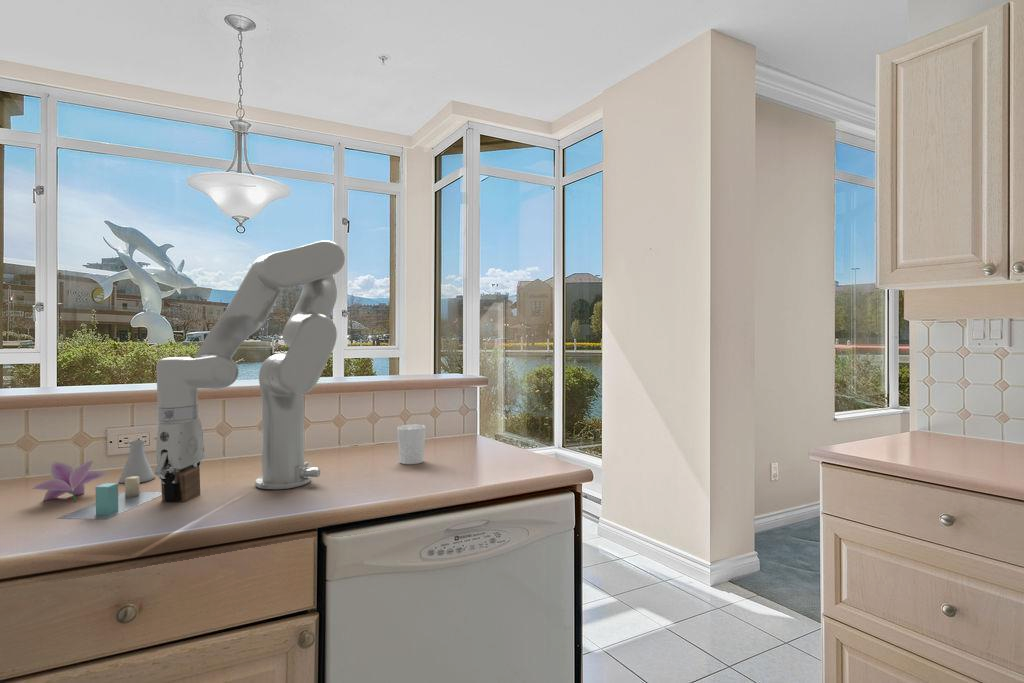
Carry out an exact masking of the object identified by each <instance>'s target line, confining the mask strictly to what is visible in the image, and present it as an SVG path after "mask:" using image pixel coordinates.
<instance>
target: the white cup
mask: <svg viewBox="0 0 1024 683" xmlns="http://www.w3.org/2000/svg"><path fill="white" fill-rule="evenodd" d="M425 443H426V425H424V424H403V425H402V424H401V425H399V426H397V447H398V449H397V450H398V453H399V454H398V459H399V460H398V462H399V463H400V464H403V465H417V464H421V463H423V462H424V454H425V453H424V452H425V445H426V444H425Z"/></svg>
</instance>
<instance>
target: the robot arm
mask: <svg viewBox="0 0 1024 683" xmlns="http://www.w3.org/2000/svg"><path fill="white" fill-rule="evenodd" d="M345 258H346V256H345V253H344V251H343V248H342V247H341V246H340V245H339V244H337V243H336V242H334V241H331V240H326V239H325V240H324V239H323V240H319V241H315V242H312V243H308V244H305V245H301V246H297V247H293V248H289V249H286V250H285V249H284V250H281V251H274V252H271V253H267V254H264V255H260V256H259V257H257V258H256V259H255V260H254V262H253V263H252V264H251V266H250V268H249V270H248V272H247V273H246V275H245V276H244V278H243V280H242V282H241V284H240V285H239V287H238V289H237V291H236V292H235V294H234V296H233V298H232V300H231V301H230V303H229V305H228V306H227V307H226V309H225V310H224V312H223V313H222V314H221V315H220V317H219V318H218V320H217V321H216V323H215V324H214V325H213V326H212V328H211V329H210V330H209V332H208V333H207V335H206V337H205V338H204V340H203V342H202V343H201V345H200V346H199V348H198V350H197V352H196V354H195V356H194V357H190V356H174V357H173V356H172V357H163V358H161V359H159V360H158V361H157V363H156V390H157V391H156V394H157V396H156V397H157V416H158V417H157V419H158V420H157V422H158V426H157V435H156V448H155V449H156V450H155V451H156V467H155V469H154V475H155V476H157V477H159V479H160V481H161V480H162V483H163V484H164V497H165V501H164V502H166V503H179V501H180V500H181V493H180V483H177V482H178V477H179V470H181V469H184V468H186V467H199V468H200V465H201V462H202V461H203V460H204V458H205V443H204V442H205V441H204V432H203V427H202V426H203V425H202V422H201V418H200V417H199V394H198V393H199V392H198V389H213V390H214V389H215V390H216V389H217V390H220V389H225V388H228V387H230V386H232V385H233V384H234V383H235V382H236V381H237V379H238V378H239V374H240V373H239V370H240V369H239V367H238V365H237V363H236V362H235V360H233V358H234V355H235V354H236V352H237V351H238V350H239V348H240V347H241V345H242V344H243V343H244V342H245V341H246V340H247V339H248V338H249V337H250V336H252V335H253V334H254V333H256V332H257V331H259V330H260V329H261V328H262V327H263V326H264V325H265V323H266V321H267V319H268V318H269V315H270V314H271V312H272V310H273V308H274V306H275V304H276V302H277V301H278V299H279V297H280V295H281V294H282V291H283V290H284V289H289V288H293V287H297V286H301V285H302V288H301V294H300V295H299V298H298V300H297V303H296V304H295V307H294V308H293V311H292V312H291V314H290V316H289V317H288V320H287V322H286V324H285V325H284V328H283V330H282V339H283V342H284V344H285V346H287V347H288V350H287V352H286V353H282V352H281V353H275V354H273V355H271V356H268V357H267V358H266V359H265V360H264V361H263V363H262V364H261V365H260V368H259V373H258V382H259V390H260V396H261V397H260V398H261V418H262V419H261V422H262V423H261V443H262V444H261V447H262V449H261V450H262V451H261V456H262V459H261V462H262V463H261V464H262V466H261V469H262V470H261V472H262V475H261V476H260V477H258V478H256V479H255V481H254V484H255V485H254V486H255V487H257V488H259V489H263V490H285V489H287V490H288V489H294V488H297V487H298V488H299V487H302V486H305V485H307V484H308V483H310V482H311V481H312V478H319V477H320V476H321V469H320V468H319V467H310V466H309V461H305V405H304V404H305V403H304V402H305V401H304V396H303V395H305V394H308V393H309V392H311V390H312V389H314V388H315V386H316V385H317V383H319V380H320V378H321V376H322V374H323V372H324V369H325V368H326V366H327V363H328V361H329V358H330V357H331V355H332V352H333V350H334V349H335V345H336V342H337V335H338V330H337V328H336V324H335V323H334V321H333V320H332V319H331V318H330V317H331V315H332V312H333V309H334V308H335V305H336V302H337V298H338V289H337V284H336V280H335V277H334V275H335V274H338V273H339V272H340V271H341V270H342V269H343V267H344V265H345ZM169 471H173V476H172V475H171V474H170V473H169Z"/></svg>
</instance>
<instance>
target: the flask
mask: <svg viewBox="0 0 1024 683" xmlns="http://www.w3.org/2000/svg"><path fill="white" fill-rule="evenodd" d="M145 442H146V439H141V438H140V439H139V438H138V439H132V440H129V441H128V445H129V451H128V452H129V453H128V458H127V460H126V462H125V465H124V467H123V470H122V472H121V475H120V476H119V480H118V483H120V484H124V485H125V478H127V477H132V476H139V484H140V483H145V482H149V481H151V480H154V479H155V478H156V474H155V472H154V471H153V468H152V467H151V465H150V463H149V460H148V458H147V456H146V452H145V446H144V444H145Z"/></svg>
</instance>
